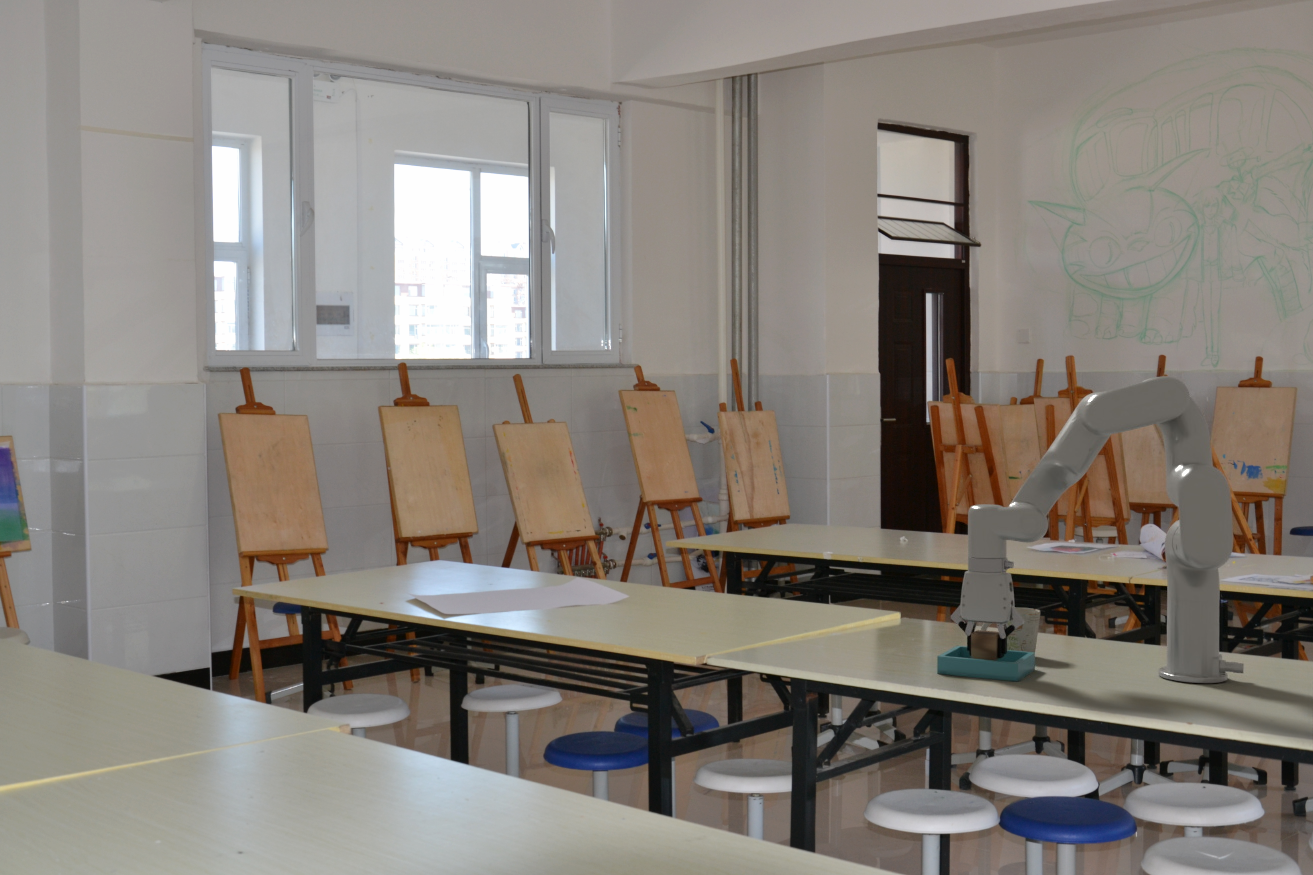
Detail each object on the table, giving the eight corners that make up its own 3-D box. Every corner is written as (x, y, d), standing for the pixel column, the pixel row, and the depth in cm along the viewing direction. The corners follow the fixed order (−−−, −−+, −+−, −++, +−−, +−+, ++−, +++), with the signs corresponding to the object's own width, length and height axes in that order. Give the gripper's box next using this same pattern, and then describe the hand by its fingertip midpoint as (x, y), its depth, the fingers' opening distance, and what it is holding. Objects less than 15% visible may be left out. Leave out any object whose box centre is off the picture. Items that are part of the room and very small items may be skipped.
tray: (1034, 669, 260) (1034, 652, 260) (1018, 681, 248) (1018, 663, 248) (957, 662, 268) (957, 645, 268) (937, 673, 256) (937, 656, 256)
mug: (1044, 660, 270) (1045, 613, 270) (985, 660, 270) (985, 612, 270) (1034, 653, 279) (1034, 607, 278) (976, 652, 279) (976, 607, 279)
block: (1002, 656, 259) (1002, 631, 259) (996, 660, 254) (996, 635, 254) (977, 654, 261) (977, 629, 261) (971, 658, 257) (971, 633, 257)
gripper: (1034, 566, 257) (1034, 656, 257) (950, 561, 265) (950, 649, 265) (1025, 570, 250) (1025, 662, 250) (940, 565, 259) (940, 655, 259)
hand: (986, 654), depth 258 cm, fingers closed on block, 5 cm apart
